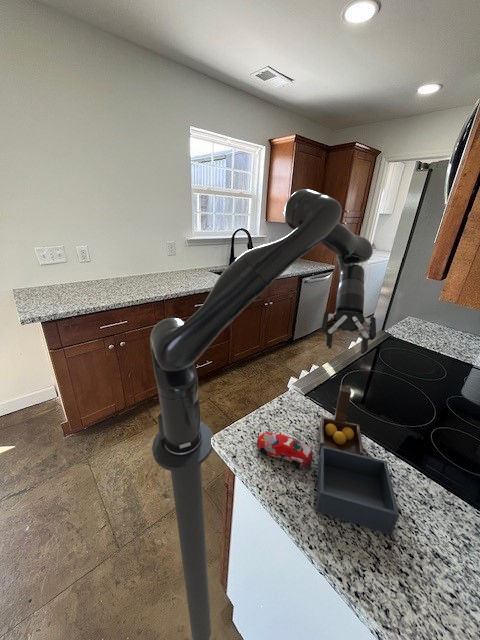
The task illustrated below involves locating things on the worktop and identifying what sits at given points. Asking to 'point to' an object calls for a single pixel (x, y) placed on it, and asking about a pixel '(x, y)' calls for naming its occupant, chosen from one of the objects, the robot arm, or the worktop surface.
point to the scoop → (341, 426)
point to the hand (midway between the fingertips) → (346, 350)
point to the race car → (285, 449)
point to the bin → (356, 489)
